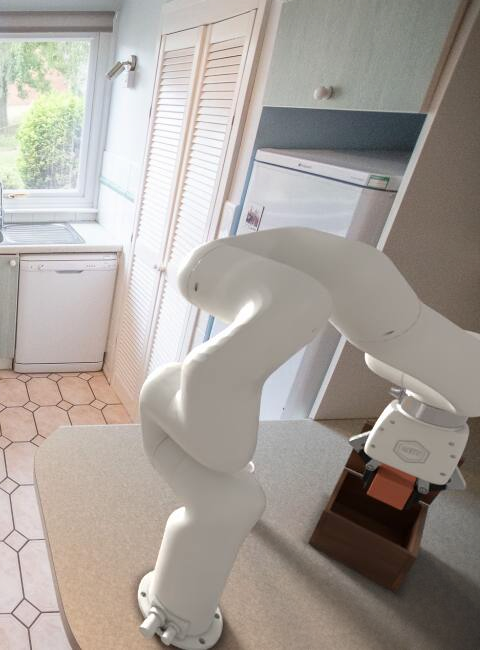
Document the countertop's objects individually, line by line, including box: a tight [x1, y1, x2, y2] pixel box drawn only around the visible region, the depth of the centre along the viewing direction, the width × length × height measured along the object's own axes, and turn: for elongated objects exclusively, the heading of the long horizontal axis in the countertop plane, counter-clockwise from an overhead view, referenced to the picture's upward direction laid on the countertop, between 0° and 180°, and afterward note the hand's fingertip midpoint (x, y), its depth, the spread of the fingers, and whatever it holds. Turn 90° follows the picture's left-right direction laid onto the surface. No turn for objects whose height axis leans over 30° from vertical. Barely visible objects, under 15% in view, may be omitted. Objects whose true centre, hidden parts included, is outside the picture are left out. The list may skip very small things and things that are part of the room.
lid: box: [344, 419, 467, 506], centre depth 82 cm, size 16×13×5 cm
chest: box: [307, 467, 430, 593], centre depth 84 cm, size 16×13×9 cm
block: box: [367, 463, 416, 510], centre depth 76 cm, size 4×4×4 cm
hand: (386, 493), depth 77 cm, fingers closed on block, 4 cm apart
